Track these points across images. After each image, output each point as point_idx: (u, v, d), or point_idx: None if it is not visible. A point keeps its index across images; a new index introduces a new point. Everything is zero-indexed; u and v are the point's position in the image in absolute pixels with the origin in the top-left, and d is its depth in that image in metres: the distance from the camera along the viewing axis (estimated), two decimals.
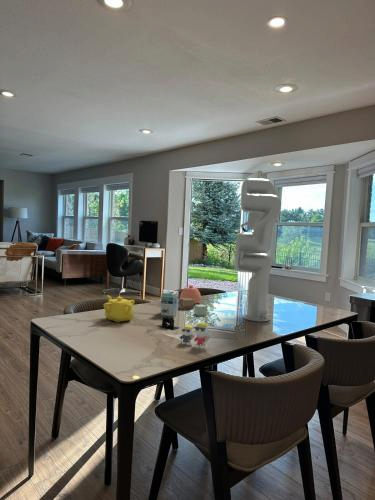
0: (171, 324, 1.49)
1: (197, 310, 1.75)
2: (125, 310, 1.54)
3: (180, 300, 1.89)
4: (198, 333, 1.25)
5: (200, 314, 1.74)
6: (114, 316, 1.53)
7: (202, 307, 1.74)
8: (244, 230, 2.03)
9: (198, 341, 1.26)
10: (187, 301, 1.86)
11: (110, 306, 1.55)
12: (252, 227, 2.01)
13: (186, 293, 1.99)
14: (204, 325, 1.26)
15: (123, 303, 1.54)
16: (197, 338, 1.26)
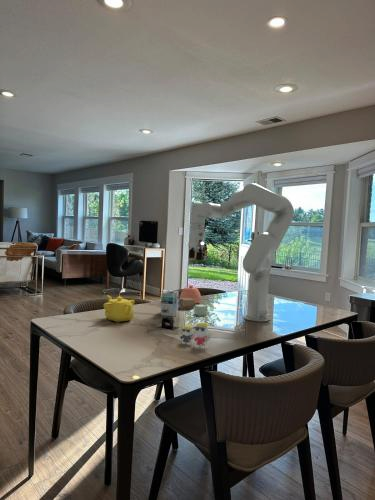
0: (171, 324, 1.49)
1: (197, 310, 1.75)
2: (125, 310, 1.54)
3: (180, 300, 1.89)
4: (198, 333, 1.25)
5: (200, 314, 1.74)
6: (114, 316, 1.53)
7: (202, 307, 1.74)
8: None
9: (198, 341, 1.26)
10: (187, 301, 1.86)
11: (110, 306, 1.55)
12: None
13: (186, 293, 1.99)
14: (204, 325, 1.26)
15: (123, 303, 1.54)
16: (197, 338, 1.26)
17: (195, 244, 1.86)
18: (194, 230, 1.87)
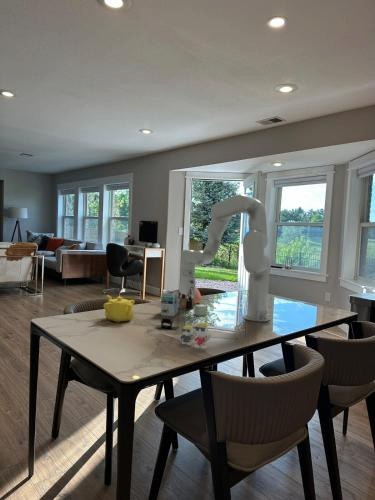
0: (171, 324, 1.48)
1: (197, 310, 1.75)
2: (125, 310, 1.54)
3: (180, 300, 1.89)
4: (198, 333, 1.25)
5: (200, 314, 1.74)
6: (114, 316, 1.53)
7: (202, 307, 1.74)
8: None
9: (198, 341, 1.26)
10: None
11: (110, 306, 1.55)
12: None
13: None
14: (204, 325, 1.26)
15: (123, 303, 1.54)
16: (197, 338, 1.26)
17: (186, 291, 1.85)
18: (185, 277, 1.86)
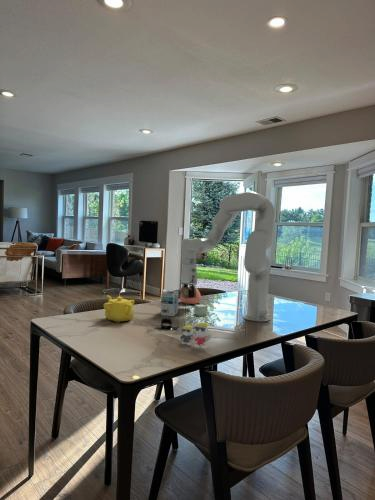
0: (171, 324, 1.48)
1: (197, 310, 1.75)
2: (125, 310, 1.54)
3: (182, 289, 1.88)
4: (198, 333, 1.25)
5: (200, 314, 1.74)
6: (114, 316, 1.53)
7: (202, 307, 1.74)
8: None
9: (198, 341, 1.26)
10: None
11: (110, 306, 1.55)
12: None
13: None
14: (204, 325, 1.26)
15: (123, 303, 1.54)
16: (197, 338, 1.26)
17: (188, 280, 1.84)
18: (186, 266, 1.86)
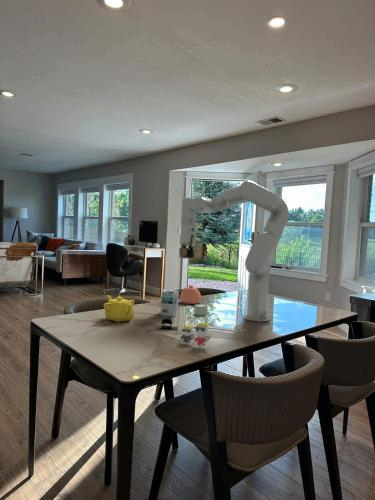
0: (171, 325, 1.48)
1: (197, 310, 1.75)
2: (125, 310, 1.54)
3: (181, 249, 1.86)
4: (198, 333, 1.25)
5: (200, 314, 1.74)
6: (114, 316, 1.53)
7: (202, 307, 1.74)
8: None
9: (198, 341, 1.26)
10: None
11: (110, 306, 1.55)
12: None
13: (186, 293, 1.99)
14: (204, 325, 1.26)
15: (123, 303, 1.54)
16: (197, 338, 1.26)
17: (187, 240, 1.82)
18: (185, 225, 1.83)
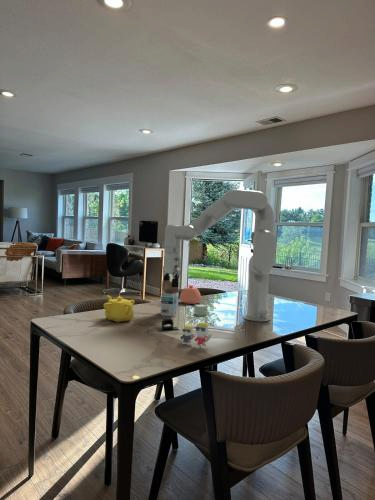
0: None
1: (197, 310, 1.75)
2: (125, 310, 1.54)
3: (163, 283, 1.74)
4: (198, 333, 1.25)
5: (200, 314, 1.74)
6: (114, 316, 1.53)
7: (202, 307, 1.74)
8: None
9: (198, 341, 1.26)
10: (171, 284, 1.71)
11: (110, 306, 1.55)
12: None
13: (186, 293, 1.99)
14: (204, 325, 1.25)
15: (123, 303, 1.54)
16: (197, 338, 1.26)
17: (170, 270, 1.70)
18: (169, 254, 1.71)
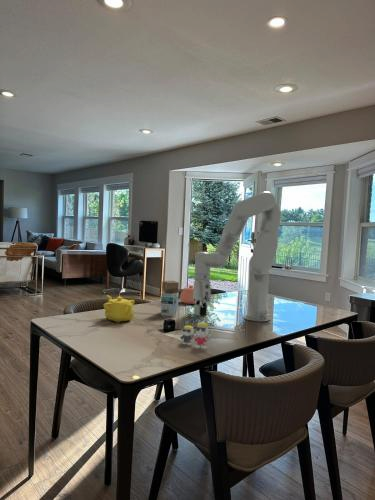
0: None
1: (197, 310, 1.75)
2: (125, 310, 1.54)
3: (163, 283, 1.74)
4: (199, 333, 1.25)
5: None
6: (114, 316, 1.53)
7: None
8: (206, 304, 1.73)
9: (199, 341, 1.26)
10: (171, 284, 1.71)
11: (110, 306, 1.55)
12: None
13: (186, 293, 1.99)
14: (205, 325, 1.25)
15: (123, 303, 1.54)
16: (198, 338, 1.26)
17: (201, 297, 1.72)
18: (199, 281, 1.73)
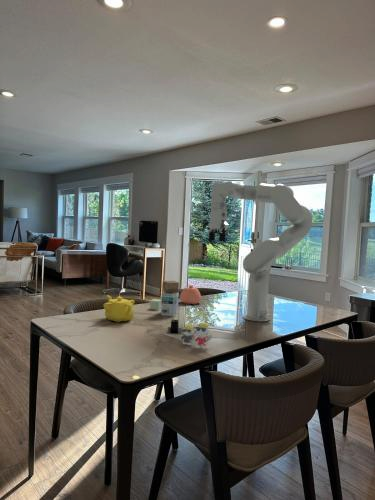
0: None
1: (154, 307, 1.83)
2: (125, 310, 1.54)
3: (164, 283, 1.74)
4: (199, 333, 1.25)
5: None
6: (114, 316, 1.53)
7: None
8: (225, 230, 1.78)
9: (199, 341, 1.26)
10: (171, 284, 1.71)
11: (110, 306, 1.55)
12: None
13: (186, 293, 1.99)
14: (205, 325, 1.25)
15: (123, 303, 1.54)
16: (198, 338, 1.26)
17: (218, 225, 1.78)
18: (216, 210, 1.79)
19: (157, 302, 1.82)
